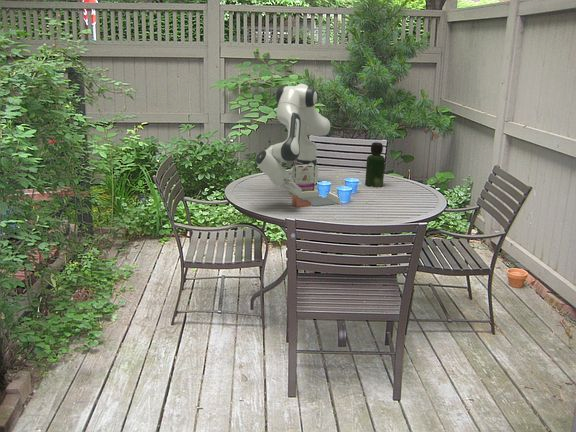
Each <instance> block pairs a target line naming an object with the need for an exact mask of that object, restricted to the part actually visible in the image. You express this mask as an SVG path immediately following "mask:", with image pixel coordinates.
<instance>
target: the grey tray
mask: <svg viewBox="0 0 576 432" xmlns="http://www.w3.org/2000/svg"><path fill="white" fill-rule="evenodd" d="M301 195H302V197H301V198H307V197H319V193H318V190H314V191H304V192H302V193H301ZM338 196H339V195H337V194H335V193H333V192H331V191H329V193H328V195H327V198H329V199H331V200H333V201H335V202H337V203H339V204H338V205H341V204H342V201H341V202H340V199H339V197H340V196H339V197H338ZM340 203H341V204H340Z"/></svg>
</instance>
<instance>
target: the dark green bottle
mask: <svg viewBox="0 0 576 432" xmlns="http://www.w3.org/2000/svg"><path fill="white" fill-rule="evenodd" d="M383 148H384V146H383V143H381V142H378V141H376V142H375V141H374V142H372V143H371V145H370V152H371V154H370V155H368V156H367V157H366V167H365V181H364V184H366V185H365V186H367V187H370V186H373V187H372V188H380V187H379V186H381V187H383V186H384V176H385V165H386V164H385V162H386V159H385V156H383V155H381V154H383V152H384V151H383V150H384V149H383Z"/></svg>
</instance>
